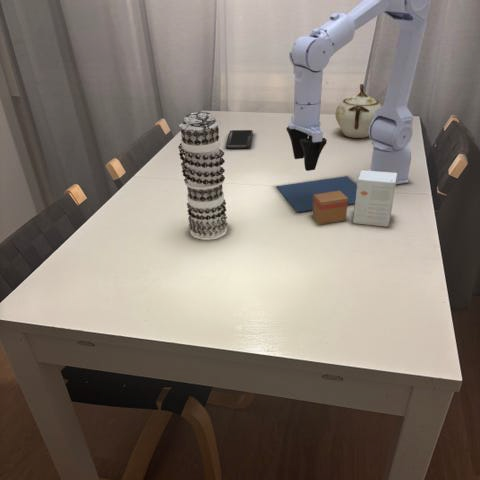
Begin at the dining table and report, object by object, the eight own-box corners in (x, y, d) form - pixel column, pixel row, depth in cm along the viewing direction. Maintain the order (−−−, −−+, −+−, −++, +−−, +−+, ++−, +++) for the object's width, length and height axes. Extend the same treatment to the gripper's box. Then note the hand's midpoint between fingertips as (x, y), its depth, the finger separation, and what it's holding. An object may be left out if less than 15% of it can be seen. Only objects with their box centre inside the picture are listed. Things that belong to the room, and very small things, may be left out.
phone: (225, 145, 148) (230, 130, 160) (225, 149, 149) (230, 133, 161) (250, 145, 148) (253, 129, 159) (250, 148, 148) (253, 133, 160)
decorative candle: (183, 226, 109) (168, 113, 94) (220, 218, 112) (212, 106, 96) (195, 244, 103) (182, 125, 87) (235, 234, 105) (229, 117, 90)
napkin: (346, 177, 128) (346, 176, 128) (374, 201, 116) (374, 200, 116) (276, 187, 125) (276, 186, 125) (297, 213, 113) (297, 211, 113)
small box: (390, 216, 110) (398, 172, 103) (388, 227, 105) (396, 182, 99) (355, 212, 112) (361, 169, 105) (352, 223, 108) (357, 178, 101)
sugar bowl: (337, 124, 165) (341, 76, 155) (381, 126, 161) (388, 78, 152) (330, 142, 150) (334, 91, 141) (378, 145, 147) (385, 93, 137)
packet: (337, 212, 112) (340, 190, 109) (346, 220, 109) (348, 198, 105) (311, 216, 111) (313, 194, 108) (319, 225, 108) (320, 202, 104)
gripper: (279, 95, 106) (278, 155, 115) (301, 112, 95) (298, 177, 103) (309, 92, 107) (306, 152, 116) (333, 108, 96) (328, 173, 105)
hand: (304, 164), depth 110 cm, fingers open, 7 cm apart
